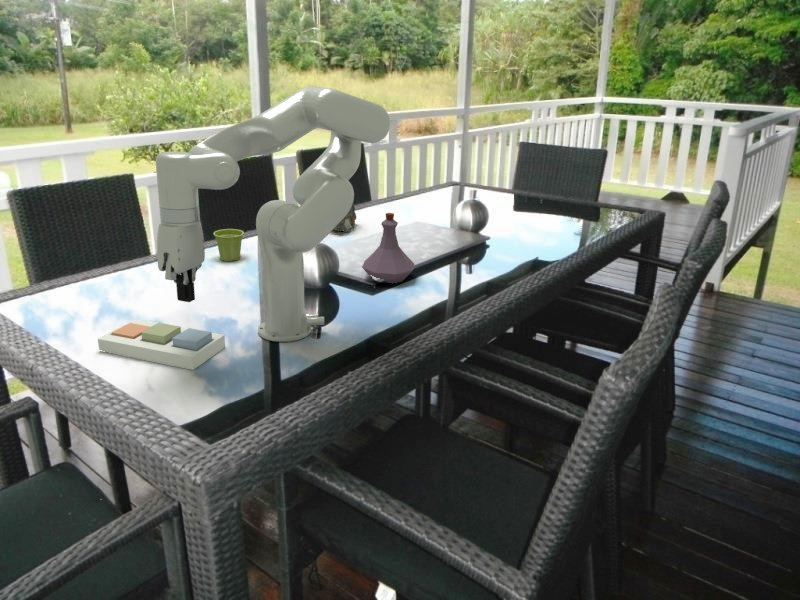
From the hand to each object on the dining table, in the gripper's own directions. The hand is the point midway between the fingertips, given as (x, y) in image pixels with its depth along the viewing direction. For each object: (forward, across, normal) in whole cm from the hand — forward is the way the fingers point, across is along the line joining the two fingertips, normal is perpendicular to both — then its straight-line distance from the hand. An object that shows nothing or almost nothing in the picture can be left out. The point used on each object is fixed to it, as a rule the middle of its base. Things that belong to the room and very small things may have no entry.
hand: (186, 300), depth 133 cm
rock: (+12, -114, -14) cm, 115 cm away
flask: (+12, -66, +23) cm, 71 cm away
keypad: (+13, -1, -8) cm, 15 cm away
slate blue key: (+11, -1, 0) cm, 11 cm away
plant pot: (+13, -64, -30) cm, 72 cm away
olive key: (+10, -1, -8) cm, 13 cm away
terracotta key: (+12, -1, -16) cm, 20 cm away
